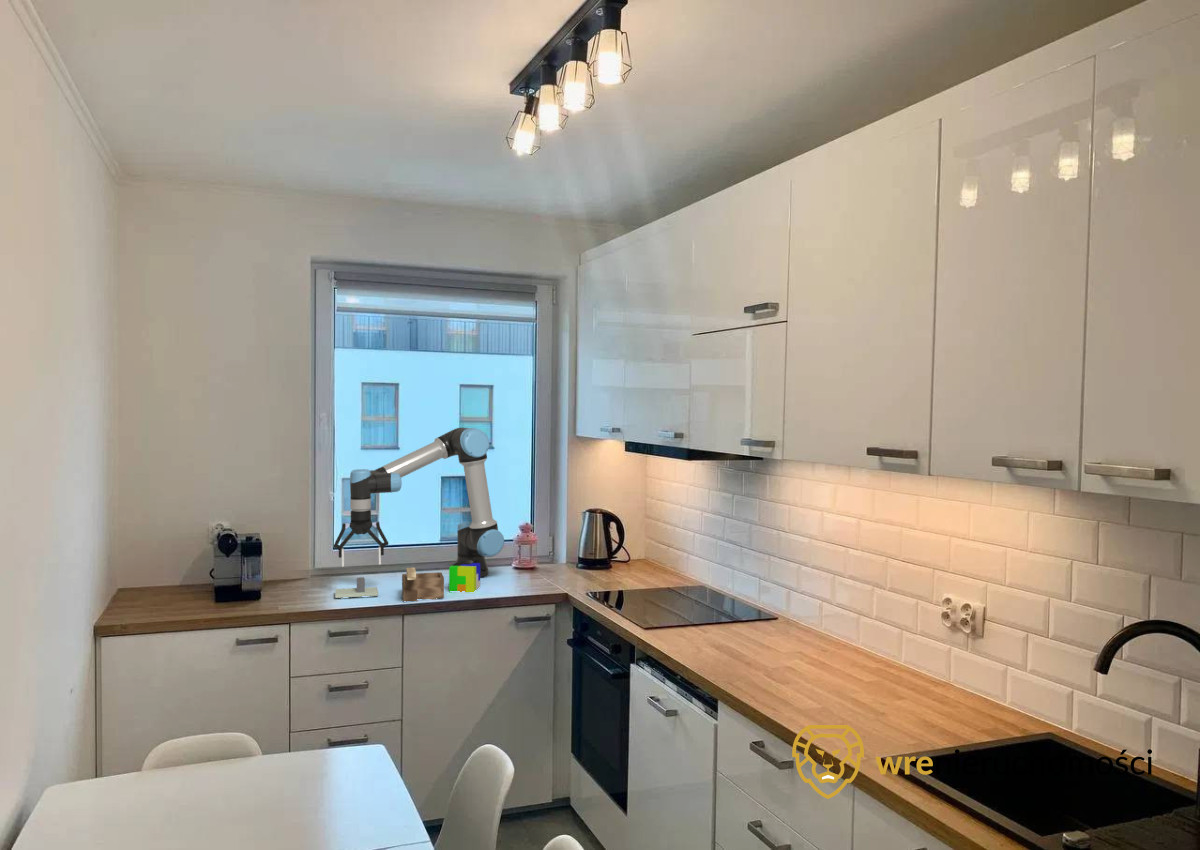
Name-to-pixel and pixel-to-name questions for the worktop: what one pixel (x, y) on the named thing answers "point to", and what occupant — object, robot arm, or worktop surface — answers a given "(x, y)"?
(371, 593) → the lid
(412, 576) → the light wooden block
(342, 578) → the worktop surface
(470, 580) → the puzzle toy
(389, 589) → the worktop surface
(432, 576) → the box
